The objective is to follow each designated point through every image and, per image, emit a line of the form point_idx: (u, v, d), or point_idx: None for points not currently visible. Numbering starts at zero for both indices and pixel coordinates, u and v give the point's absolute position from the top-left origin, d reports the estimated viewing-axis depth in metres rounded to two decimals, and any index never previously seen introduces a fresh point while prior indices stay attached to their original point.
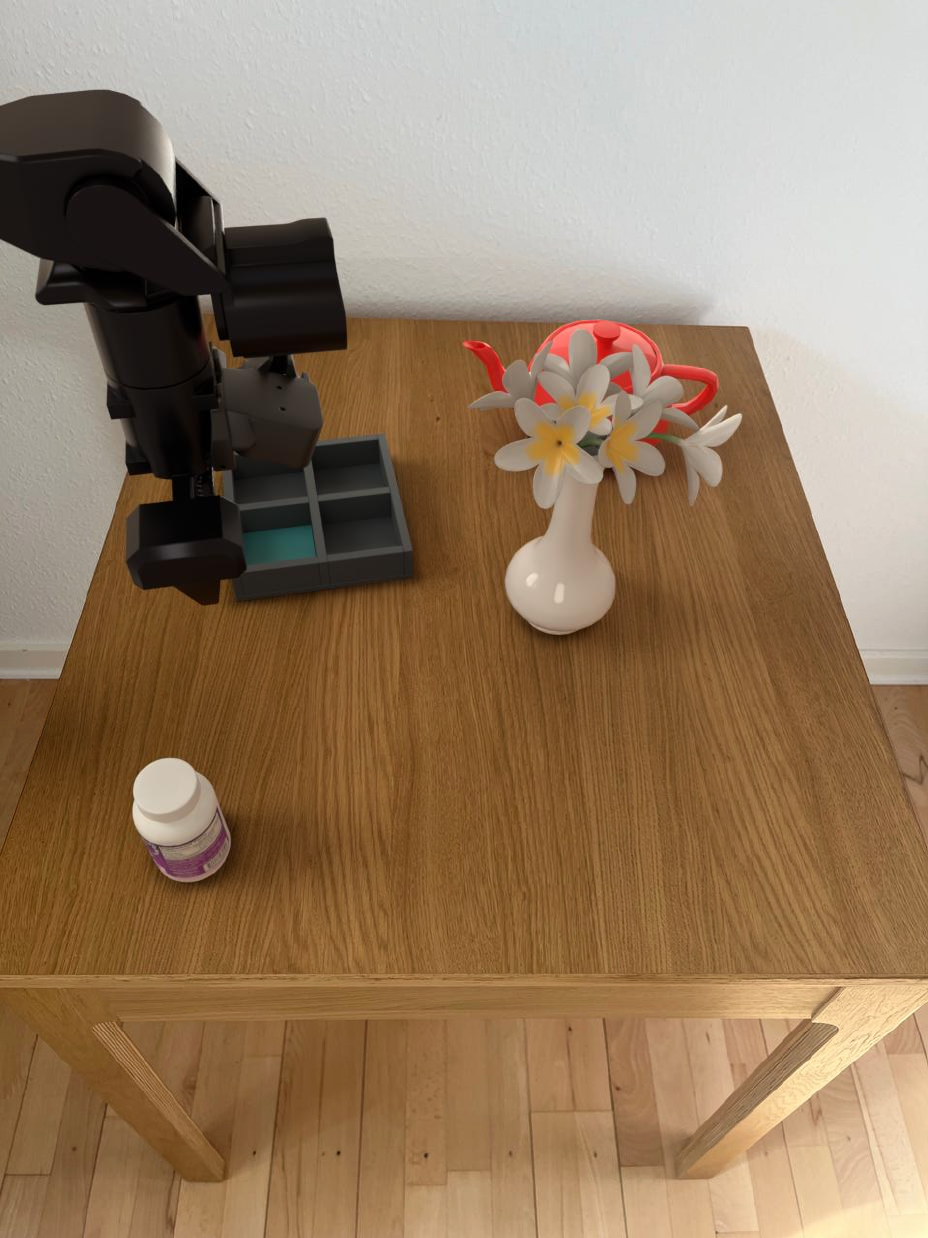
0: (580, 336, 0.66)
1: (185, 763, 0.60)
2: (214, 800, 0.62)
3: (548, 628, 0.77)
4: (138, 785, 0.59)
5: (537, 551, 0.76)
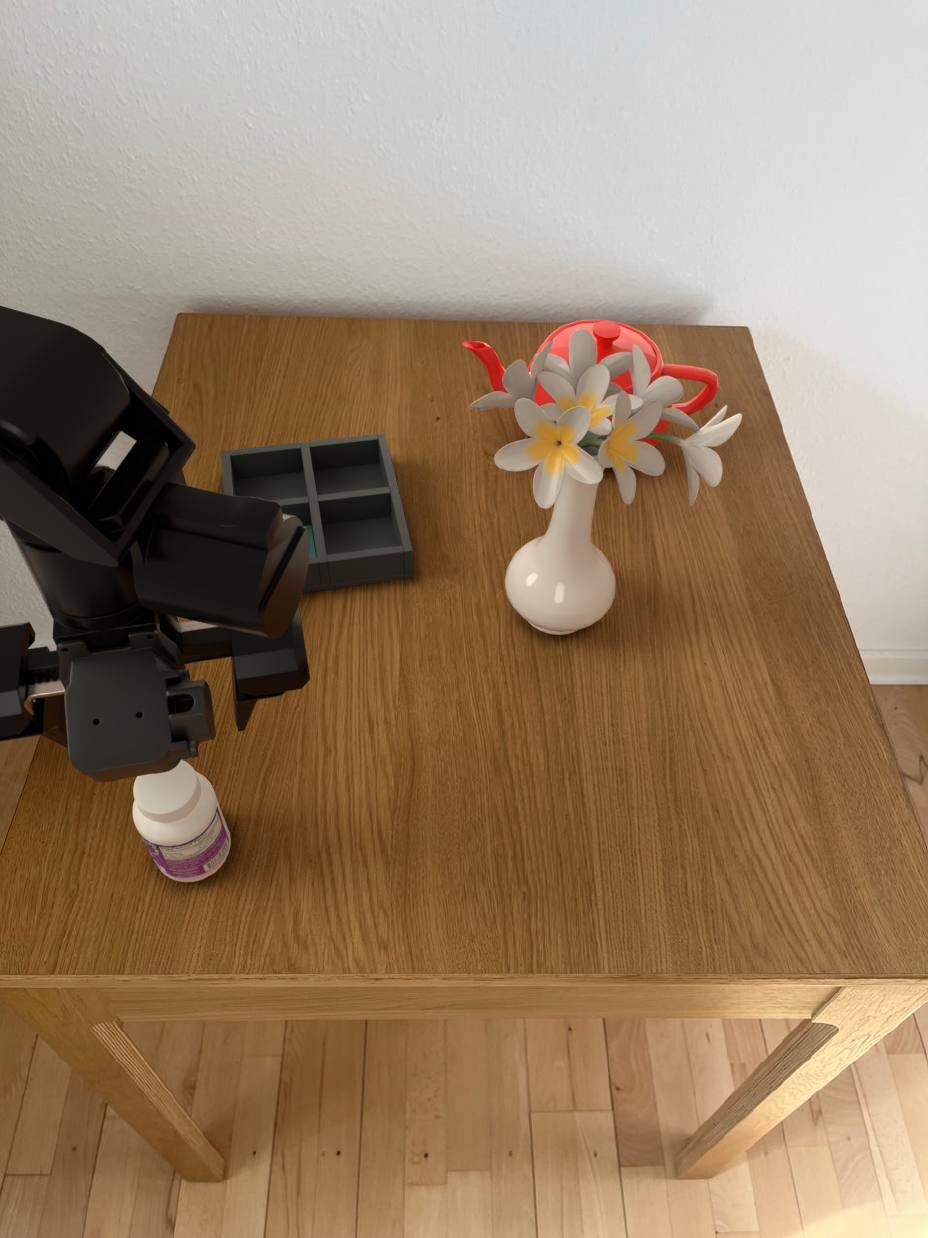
0: (580, 336, 0.66)
1: (185, 763, 0.60)
2: (214, 800, 0.62)
3: (548, 628, 0.77)
4: (138, 785, 0.59)
5: (537, 551, 0.76)
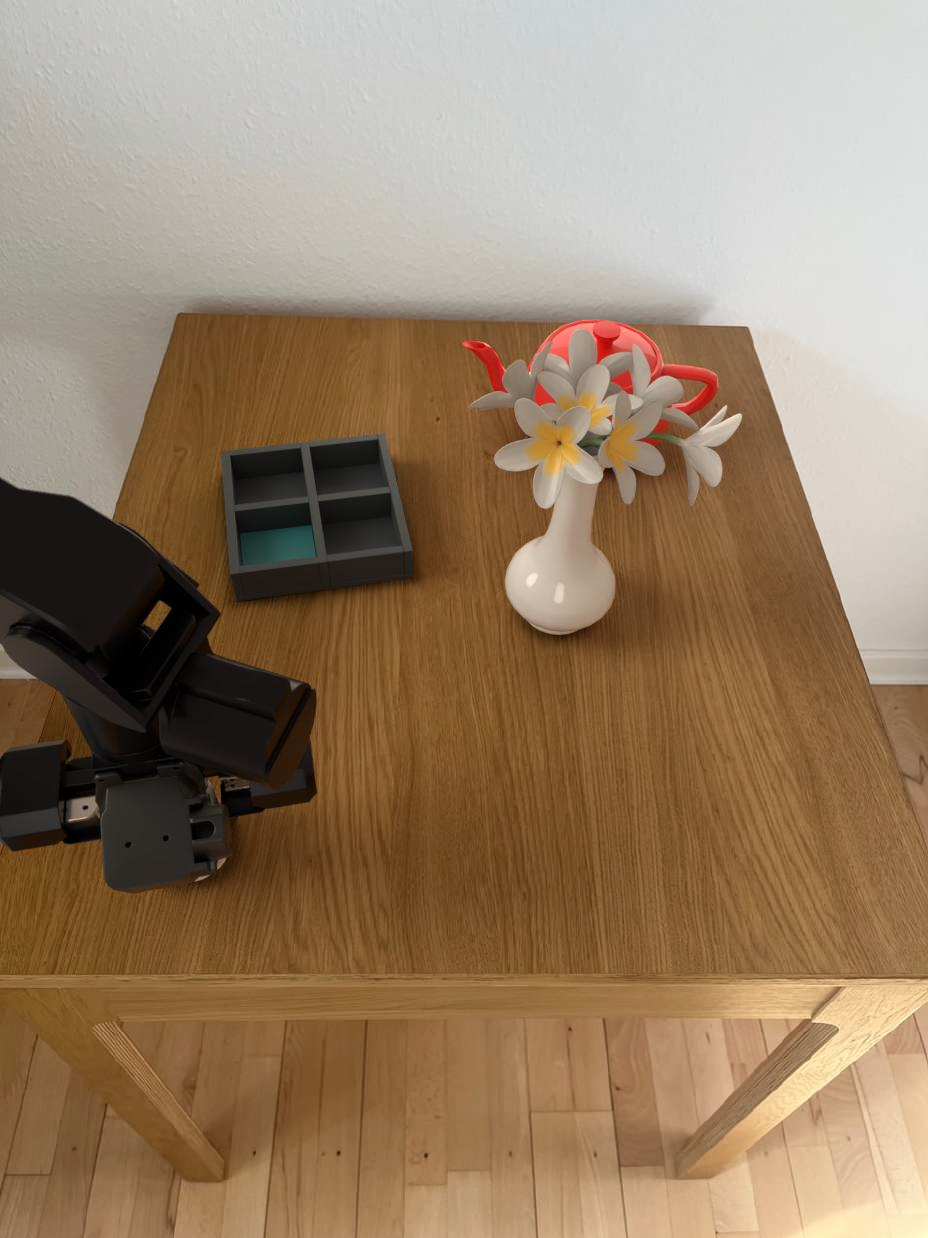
0: (580, 336, 0.66)
1: None
2: (214, 800, 0.62)
3: (548, 628, 0.77)
4: None
5: (537, 551, 0.76)
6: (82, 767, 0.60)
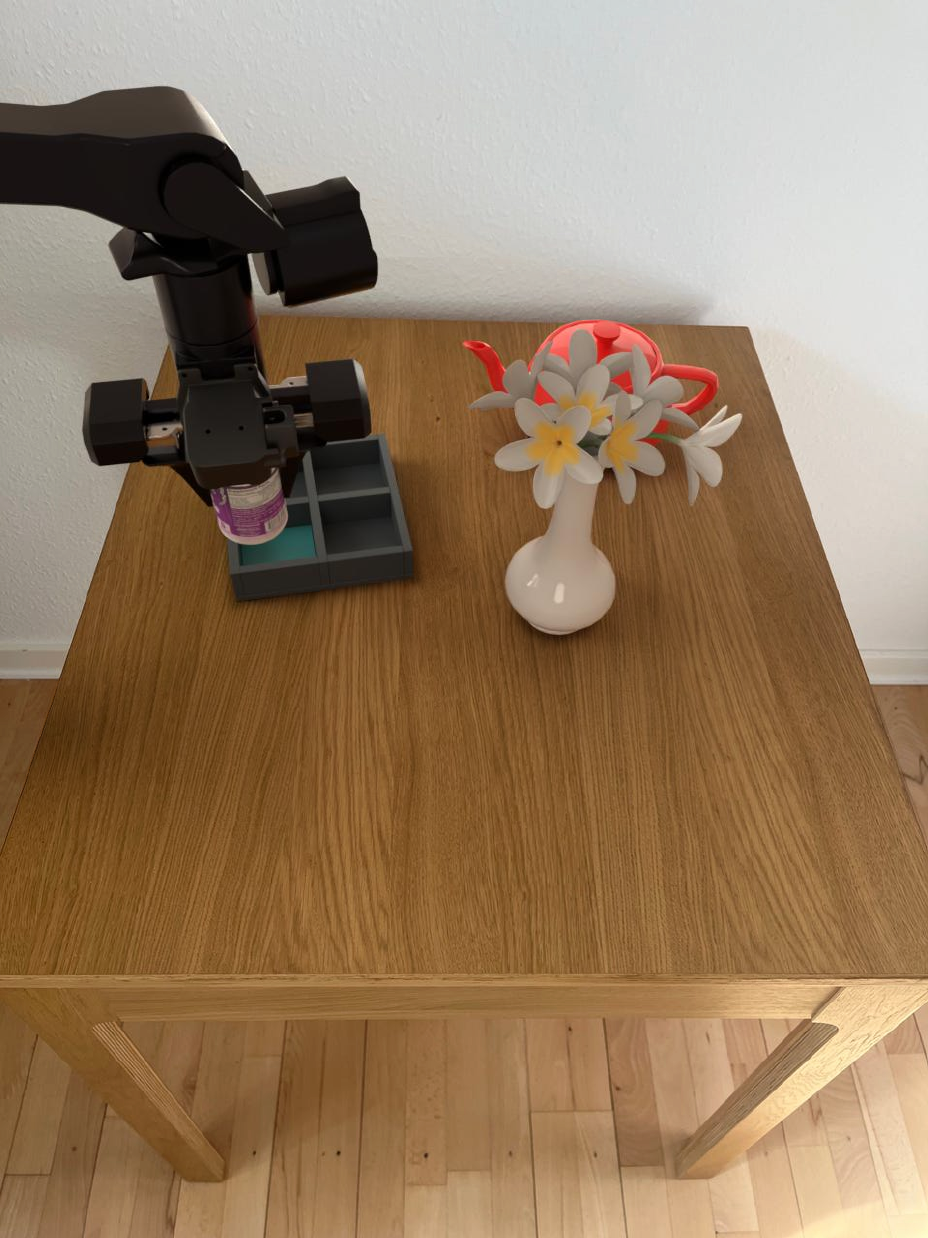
0: (580, 336, 0.66)
1: None
2: None
3: (548, 628, 0.77)
4: None
5: (537, 551, 0.76)
6: None
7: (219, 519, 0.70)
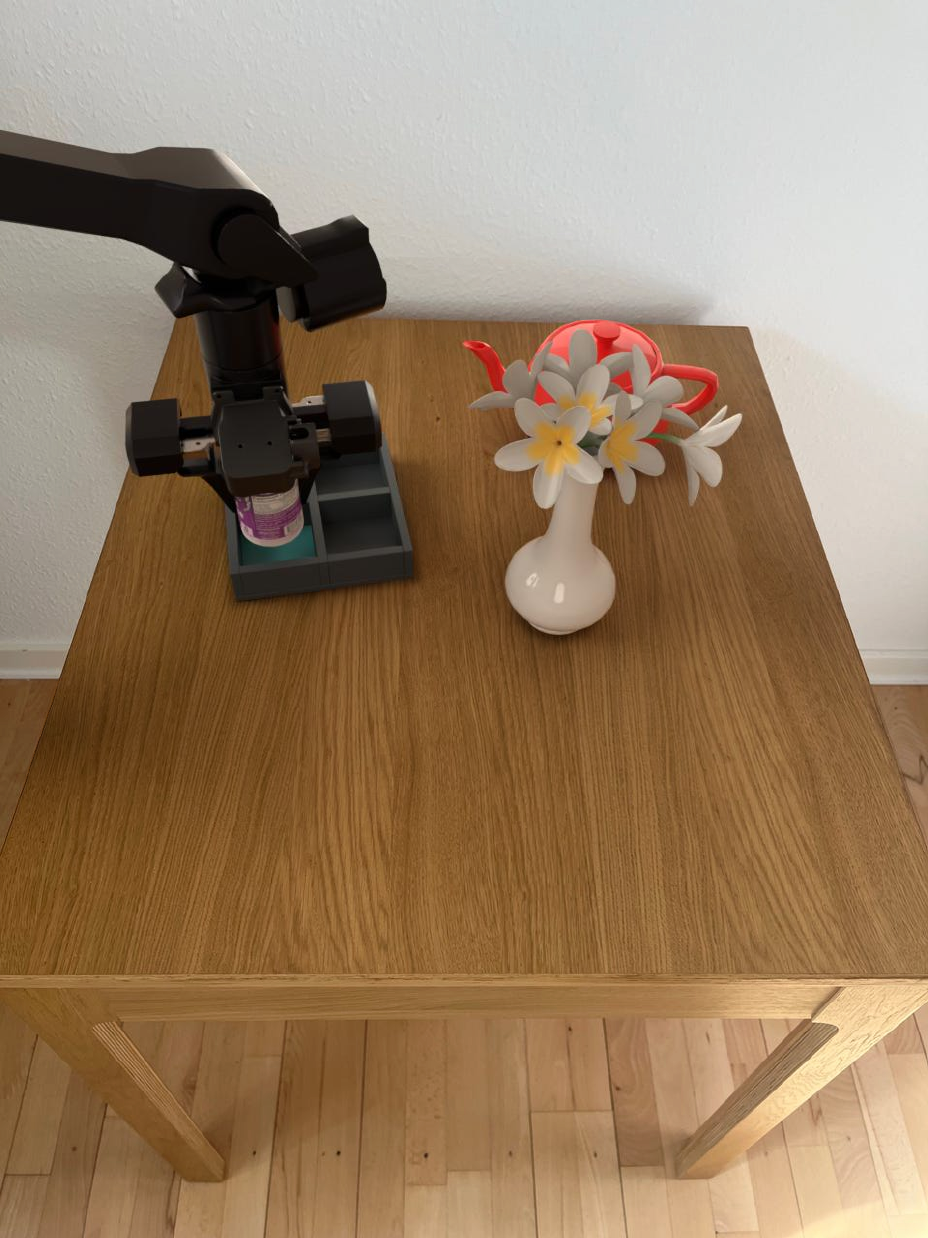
0: (580, 336, 0.66)
1: None
2: None
3: (548, 628, 0.77)
4: None
5: (537, 551, 0.76)
6: None
7: (242, 524, 0.78)
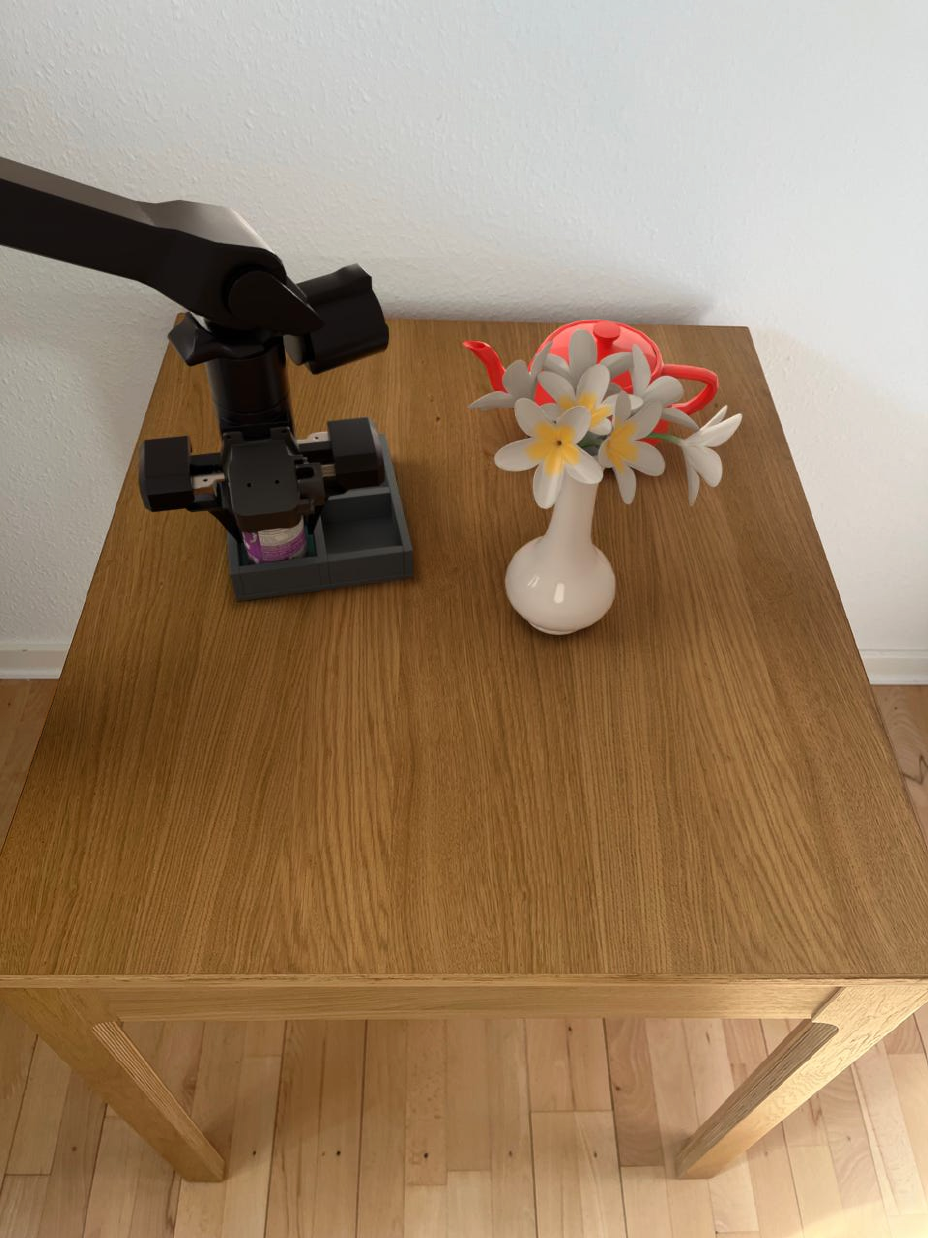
0: (580, 336, 0.66)
1: None
2: None
3: (548, 628, 0.77)
4: None
5: (537, 551, 0.76)
6: None
7: (249, 554, 0.80)
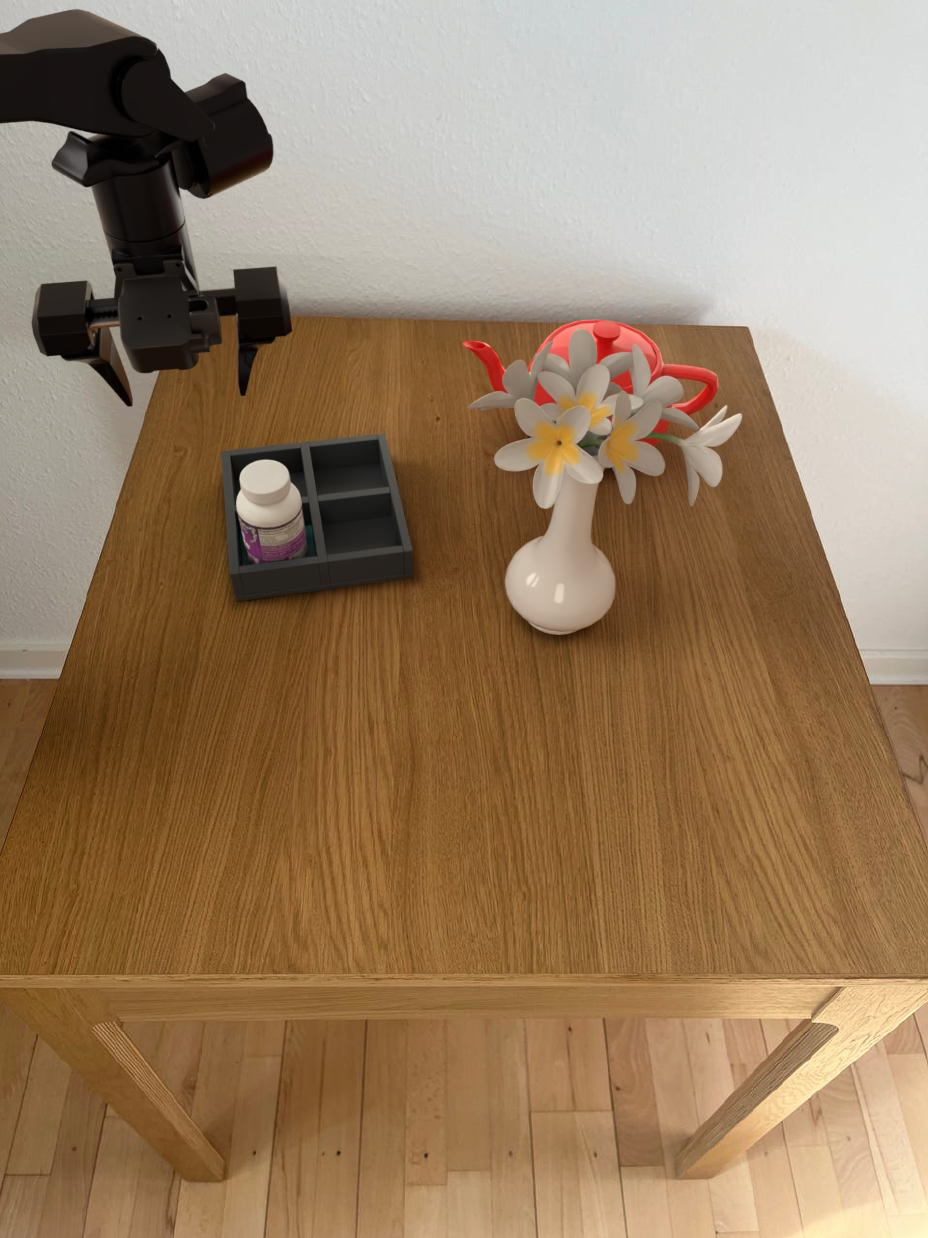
0: (580, 336, 0.66)
1: (279, 463, 0.77)
2: (300, 497, 0.78)
3: (548, 628, 0.77)
4: (243, 475, 0.76)
5: (537, 551, 0.76)
6: None
7: (249, 554, 0.80)
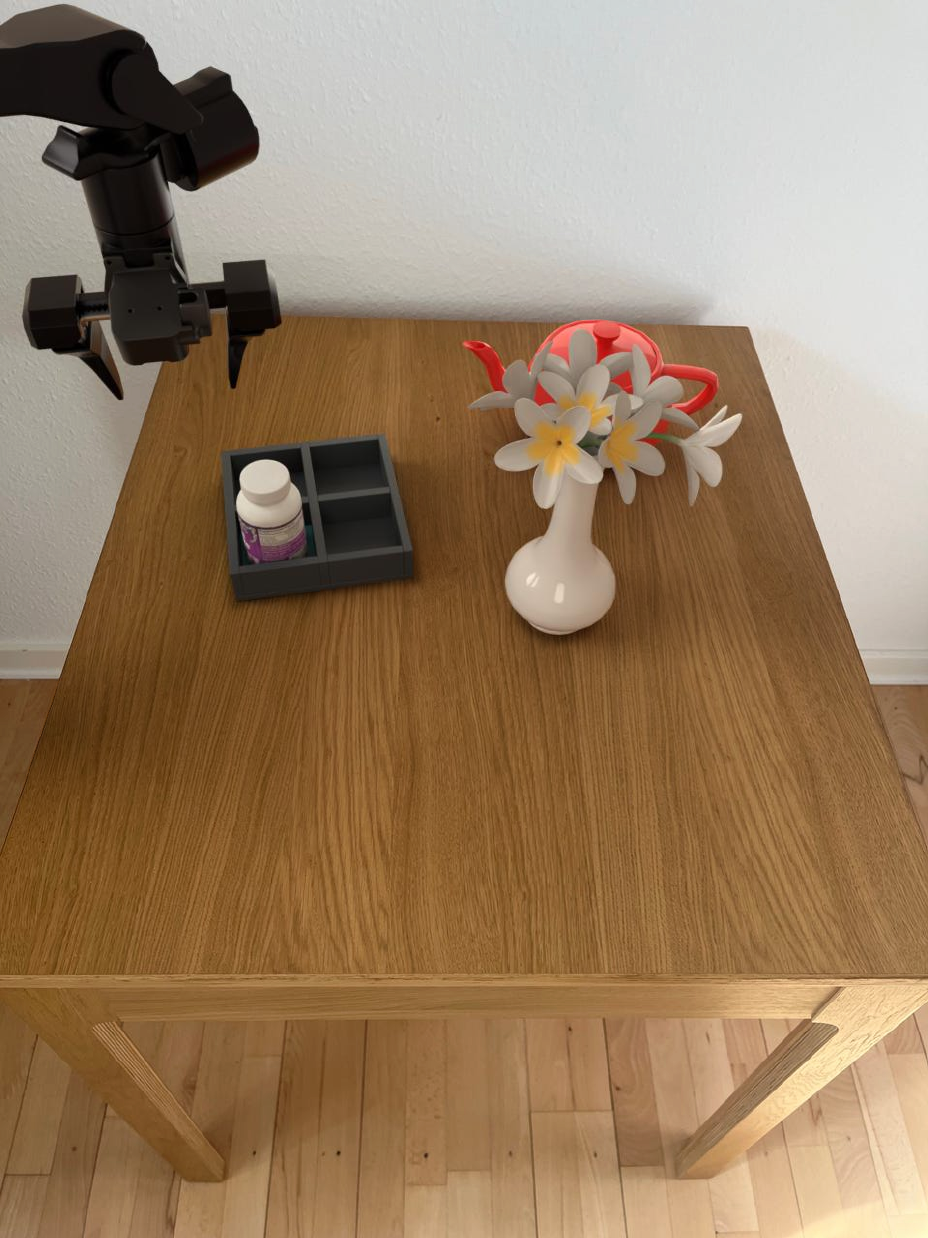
0: (580, 336, 0.66)
1: (279, 463, 0.77)
2: (300, 497, 0.78)
3: (548, 628, 0.77)
4: (243, 475, 0.76)
5: (537, 551, 0.76)
6: None
7: (249, 554, 0.80)
